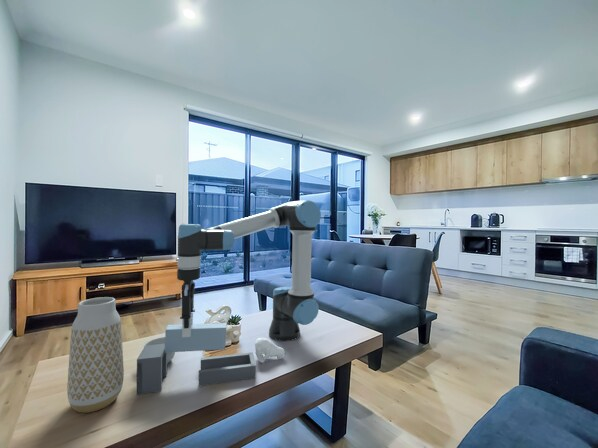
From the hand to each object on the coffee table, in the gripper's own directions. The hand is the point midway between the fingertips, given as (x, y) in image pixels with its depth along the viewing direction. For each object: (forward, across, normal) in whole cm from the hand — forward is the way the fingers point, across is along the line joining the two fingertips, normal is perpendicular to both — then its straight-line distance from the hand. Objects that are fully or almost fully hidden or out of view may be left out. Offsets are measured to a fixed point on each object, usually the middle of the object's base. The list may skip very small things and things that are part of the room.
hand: (187, 333), depth 98 cm
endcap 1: (+15, +2, -10) cm, 19 cm away
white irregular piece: (+15, -6, +30) cm, 35 cm away
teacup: (+16, -14, -11) cm, 24 cm away
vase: (+16, +8, -24) cm, 30 cm away
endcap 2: (+15, +2, +15) cm, 21 cm away
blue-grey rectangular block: (+6, 0, +3) cm, 6 cm away
